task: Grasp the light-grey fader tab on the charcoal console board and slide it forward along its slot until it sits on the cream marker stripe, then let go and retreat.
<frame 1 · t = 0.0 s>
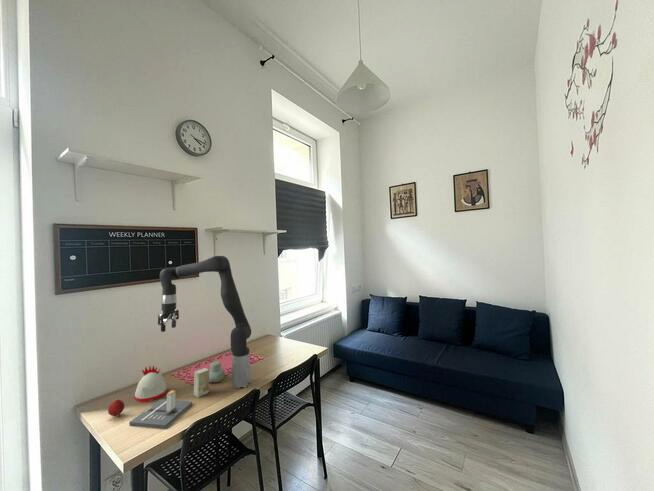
hand: (168, 329, 156), 29 cm above the table, fingers open, 8 cm apart
fader: (170, 401, 121), point 6 cm above the table, slide at -4.0 cm
skincare box: (201, 394, 140), on the table
onion: (116, 416, 120), on the table
kitchen timer: (151, 395, 139), on the table
console: (162, 414, 122), on the table
air freshener: (215, 380, 155), on the table
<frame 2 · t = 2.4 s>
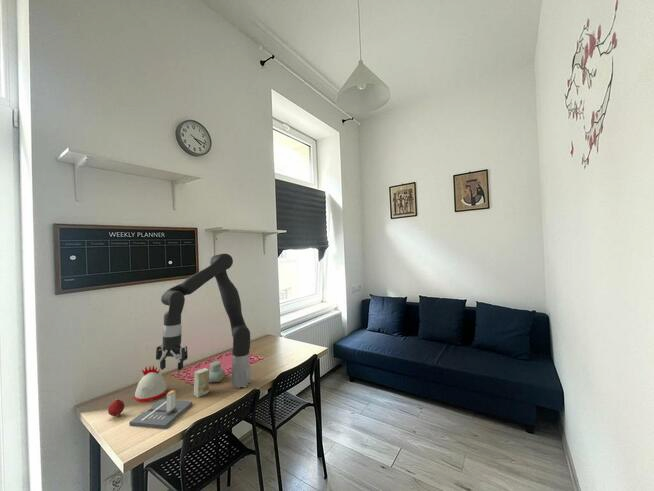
hand: (171, 369, 122), 21 cm above the table, fingers open, 8 cm apart
nothing on the table moved.
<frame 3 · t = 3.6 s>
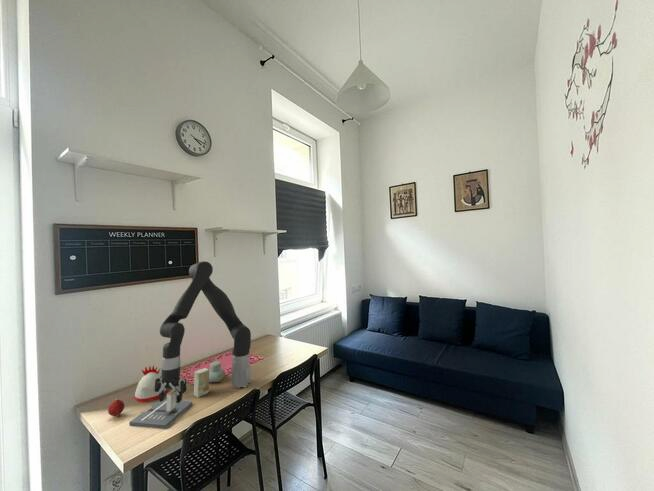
hand: (170, 401, 122), 6 cm above the table, fingers open, 8 cm apart
nothing on the table moved.
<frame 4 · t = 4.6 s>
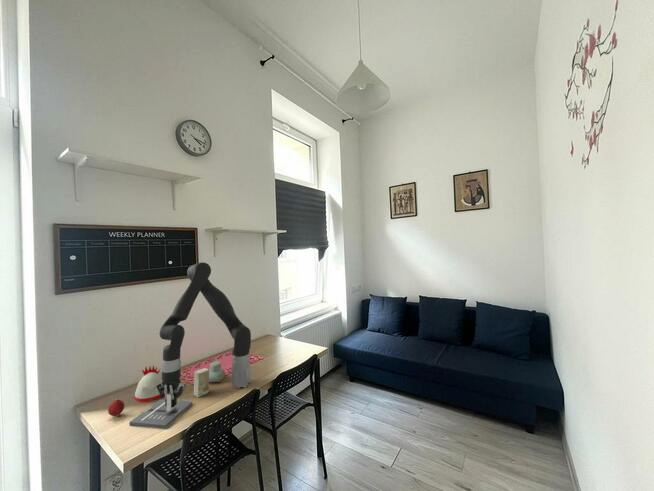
hand: (170, 406, 121), 4 cm above the table, fingers closed on fader, 2 cm apart
fader: (171, 401, 121), point 6 cm above the table, slide at -4.0 cm, touching gripper
everything else where it was.
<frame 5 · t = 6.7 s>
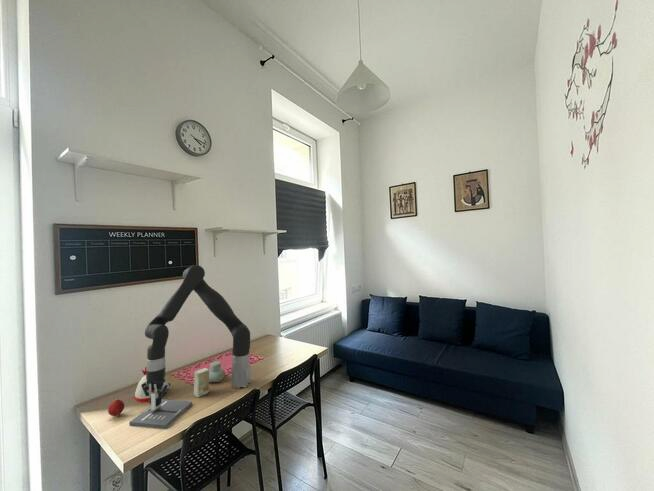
hand: (155, 404, 122), 4 cm above the table, fingers closed on fader, 2 cm apart
fader: (155, 400, 122), point 6 cm above the table, slide at 3.8 cm, touching gripper
everything else where it was.
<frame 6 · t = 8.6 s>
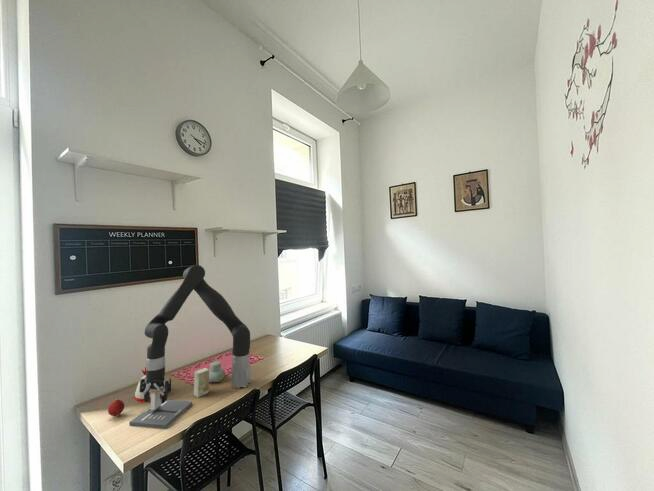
hand: (155, 401, 122), 5 cm above the table, fingers open, 8 cm apart
fader: (155, 400, 123), point 6 cm above the table, slide at 3.9 cm
everything else where it was.
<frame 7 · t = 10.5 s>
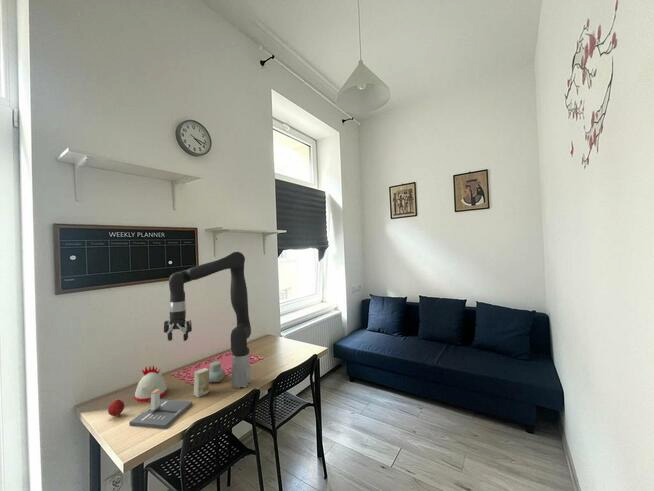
hand: (177, 340, 141), 28 cm above the table, fingers open, 8 cm apart
nothing on the table moved.
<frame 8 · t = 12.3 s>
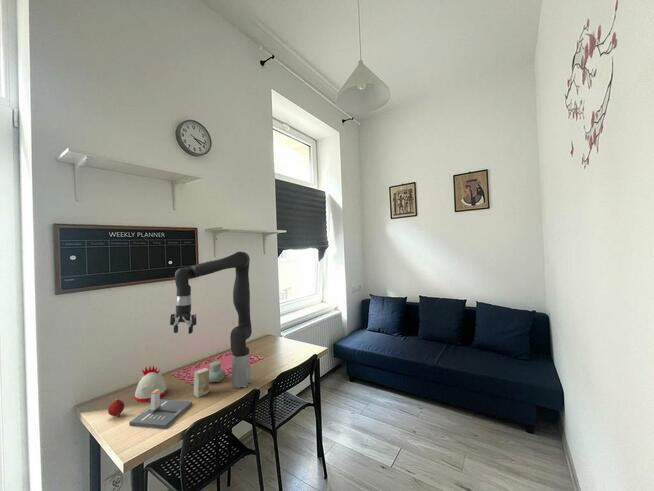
hand: (183, 333, 146), 30 cm above the table, fingers open, 8 cm apart
nothing on the table moved.
at the end: fader slide at 3.9 cm; the gripper is holding nothing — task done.
